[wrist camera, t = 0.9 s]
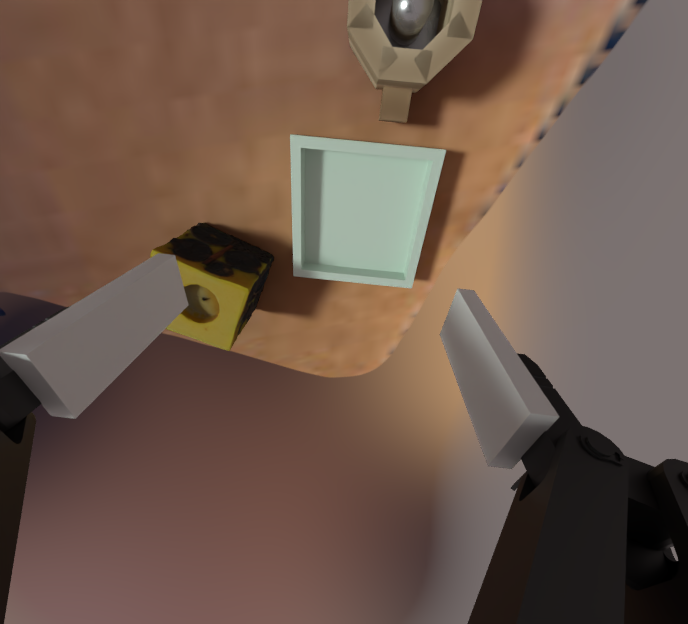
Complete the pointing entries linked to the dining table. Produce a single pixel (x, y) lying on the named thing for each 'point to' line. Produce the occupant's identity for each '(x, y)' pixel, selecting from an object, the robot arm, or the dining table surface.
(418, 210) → the tray
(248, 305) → the yellow cube with holes
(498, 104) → the dining table surface
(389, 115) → the ring
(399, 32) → the grey peg stand
